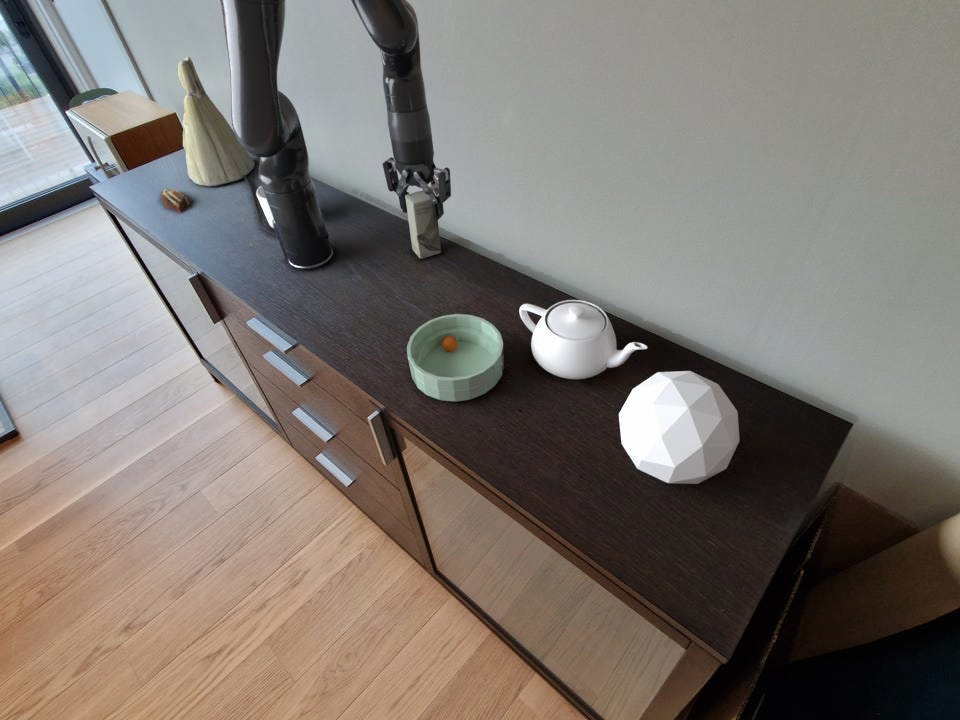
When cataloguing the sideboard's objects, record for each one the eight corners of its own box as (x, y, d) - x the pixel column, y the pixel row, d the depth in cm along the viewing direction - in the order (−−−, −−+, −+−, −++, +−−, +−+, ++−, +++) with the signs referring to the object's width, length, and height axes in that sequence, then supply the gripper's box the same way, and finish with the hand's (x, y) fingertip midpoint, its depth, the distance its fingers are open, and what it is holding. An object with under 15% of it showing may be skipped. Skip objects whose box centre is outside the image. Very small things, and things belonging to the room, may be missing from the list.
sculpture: (212, 150, 153) (205, 45, 131) (266, 182, 153) (269, 82, 131) (167, 174, 142) (151, 64, 120) (225, 208, 142) (220, 105, 120)
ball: (440, 352, 90) (438, 341, 88) (447, 342, 91) (446, 331, 89) (453, 356, 89) (452, 345, 87) (460, 347, 90) (459, 335, 88)
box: (420, 260, 111) (411, 204, 102) (412, 250, 114) (403, 194, 104) (442, 252, 112) (436, 196, 103) (434, 243, 115) (427, 187, 106)
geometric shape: (641, 494, 75) (588, 458, 66) (658, 398, 81) (611, 352, 71) (748, 508, 65) (704, 468, 56) (760, 398, 71) (721, 344, 61)
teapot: (498, 358, 89) (496, 309, 81) (540, 314, 96) (542, 265, 89) (618, 415, 79) (629, 365, 71) (655, 361, 86) (668, 310, 79)
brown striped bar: (150, 197, 137) (147, 191, 136) (171, 189, 140) (167, 183, 139) (177, 214, 130) (173, 207, 129) (197, 205, 133) (194, 198, 132)
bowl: (394, 385, 86) (388, 361, 82) (441, 328, 95) (438, 304, 91) (476, 416, 80) (474, 392, 76) (518, 353, 89) (518, 328, 86)
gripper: (455, 129, 95) (462, 212, 106) (389, 119, 100) (403, 199, 112) (433, 145, 90) (443, 231, 102) (366, 134, 95) (382, 216, 107)
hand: (422, 214), depth 107 cm, fingers open, 7 cm apart
